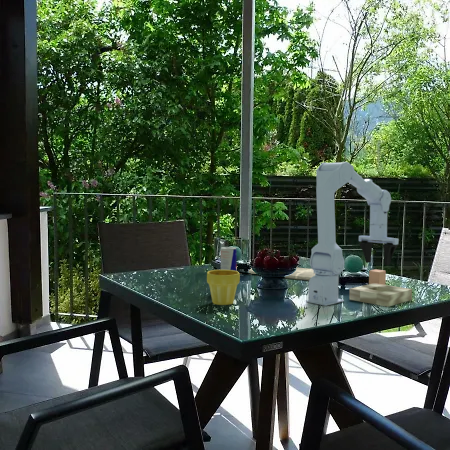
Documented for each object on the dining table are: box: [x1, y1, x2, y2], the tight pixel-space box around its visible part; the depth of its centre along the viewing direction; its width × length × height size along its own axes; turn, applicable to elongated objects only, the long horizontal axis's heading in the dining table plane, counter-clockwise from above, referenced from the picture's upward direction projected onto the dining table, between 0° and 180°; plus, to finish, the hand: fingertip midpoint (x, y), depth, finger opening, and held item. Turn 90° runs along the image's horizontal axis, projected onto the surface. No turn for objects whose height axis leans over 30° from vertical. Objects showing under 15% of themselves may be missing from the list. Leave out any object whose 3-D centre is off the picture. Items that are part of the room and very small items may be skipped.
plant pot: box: [206, 269, 241, 306], centre depth 175 cm, size 10×10×10 cm
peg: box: [368, 269, 387, 285], centre depth 194 cm, size 4×4×7 cm
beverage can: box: [220, 246, 238, 271], centre depth 196 cm, size 6×6×15 cm
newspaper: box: [249, 267, 316, 282], centre depth 230 cm, size 37×19×3 cm, turn 56°
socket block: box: [348, 283, 413, 308], centre depth 179 cm, size 14×14×4 cm
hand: (377, 263), depth 193 cm, fingers open, 7 cm apart
